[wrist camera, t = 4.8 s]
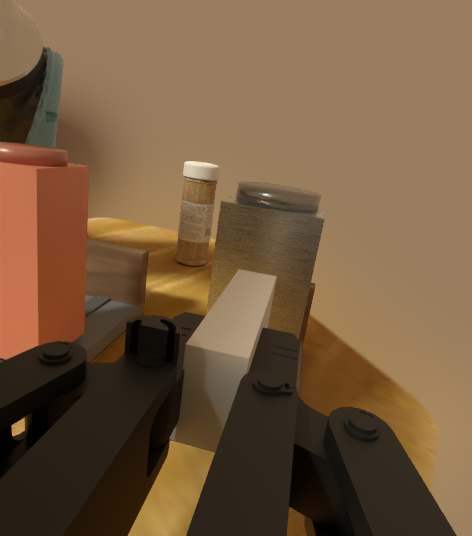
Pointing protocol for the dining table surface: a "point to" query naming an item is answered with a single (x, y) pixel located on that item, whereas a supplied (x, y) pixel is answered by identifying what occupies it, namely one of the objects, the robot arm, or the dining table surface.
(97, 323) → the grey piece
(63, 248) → the orange tall prism
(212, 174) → the sprinkles bottle
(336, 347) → the dining table surface
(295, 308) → the grey metal prism
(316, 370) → the dining table surface
